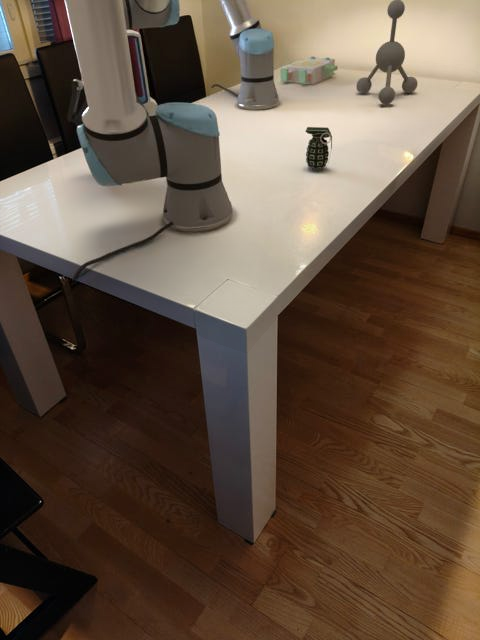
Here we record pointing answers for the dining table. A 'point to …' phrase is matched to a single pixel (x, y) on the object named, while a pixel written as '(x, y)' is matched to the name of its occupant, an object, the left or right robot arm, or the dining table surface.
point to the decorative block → (308, 70)
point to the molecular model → (390, 60)
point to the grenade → (318, 147)
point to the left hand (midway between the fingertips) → (114, 148)
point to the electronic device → (143, 74)
